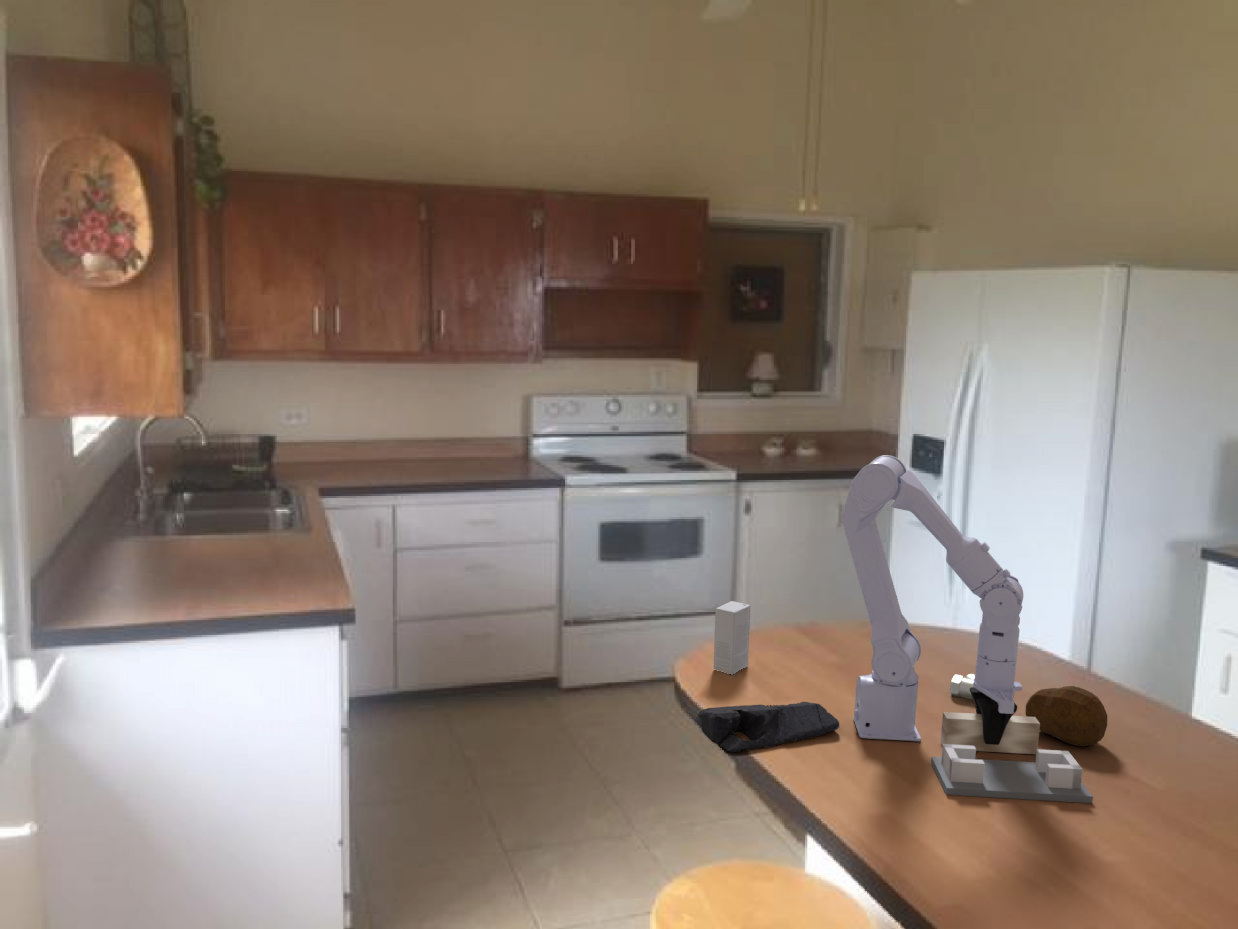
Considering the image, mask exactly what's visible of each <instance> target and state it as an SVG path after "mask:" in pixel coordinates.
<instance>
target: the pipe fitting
mask: <svg viewBox="0 0 1238 929" xmlns="http://www.w3.org/2000/svg"><path fill="white" fill-rule="evenodd" d="M974 677H975V673H970V674H967V675H966V676H964V675H961V674H956V673H955V674H954V675H953V677H952V678H951V681H950V685H949V693H950V694H951V696H955V697H957V698H958V697H959V698H965V699H969V700H972V701H973V698H972V695H971V693H970V690H969V689H970V688H971V687H974V686H973V680H974Z"/></svg>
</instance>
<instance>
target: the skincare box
mask: <svg viewBox="0 0 1238 929" xmlns="http://www.w3.org/2000/svg"><path fill="white" fill-rule="evenodd" d="M714 610H715V617H714V618H715V619H714V620H715V621H714V643H713V644H714V646H713V648H714V649H713V670H714V669H716V670H719V671H723V672H725V673H728V674H727V675H729V674H731V675H730V676H733V674H734V675H735V674H737V673H739V672H740V671H742V670H744V669H745V668H747V667H748V666H749V654H750V653H749V652H750V627H751V604H746V603H743V602H738V601H734V600H730V601H729V602H727V603H724V604H723V605H720V606H718V607H716V608H715V609H714ZM743 668H744V669H743ZM741 669H742V670H741ZM739 670H740V671H739ZM738 671H739V672H738ZM736 672H737V673H736ZM725 673H724V674H725Z"/></svg>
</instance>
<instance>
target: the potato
mask: <svg viewBox="0 0 1238 929" xmlns="http://www.w3.org/2000/svg"><path fill="white" fill-rule="evenodd" d="M1025 716H1027V717H1035V718H1036V719H1037V720H1038V721H1039V723H1040V730H1039V732H1042V733H1043V734H1044V733H1045V734H1047V735H1049V736H1051V737H1054V738H1057V739H1059V740H1060V741H1062V742H1064V743H1066V744H1069V745H1074V746H1082V747H1086V746H1093V745H1095V744H1097V743H1099V742H1101V741H1102V739H1103V738H1104V736H1105V734H1106V730H1107V728H1108V727H1107V726H1108V714H1107V712H1106V708H1105V705H1104V704H1103V702H1102V701H1101V700H1100V697H1098V695H1095V693H1093V692H1092V691H1089V690H1087V689H1085V688H1083V687H1080V686H1079V687H1078V686H1075V685H1066V686H1063V687H1061V686H1060V687H1051V688H1044V689H1043V688H1042V689H1039V690H1038V691H1036V692H1034V693H1033V694H1032V695H1031V696H1030V697H1029V699H1028V700H1027V702H1026V703H1025Z"/></svg>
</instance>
